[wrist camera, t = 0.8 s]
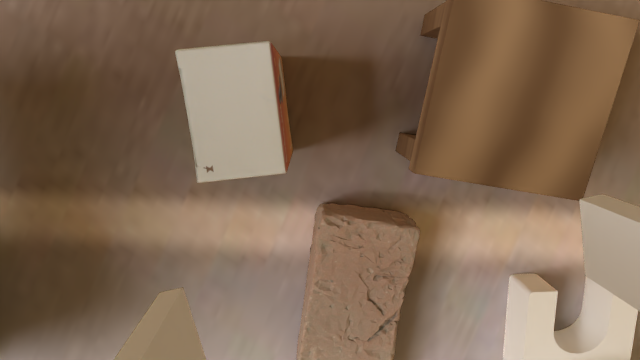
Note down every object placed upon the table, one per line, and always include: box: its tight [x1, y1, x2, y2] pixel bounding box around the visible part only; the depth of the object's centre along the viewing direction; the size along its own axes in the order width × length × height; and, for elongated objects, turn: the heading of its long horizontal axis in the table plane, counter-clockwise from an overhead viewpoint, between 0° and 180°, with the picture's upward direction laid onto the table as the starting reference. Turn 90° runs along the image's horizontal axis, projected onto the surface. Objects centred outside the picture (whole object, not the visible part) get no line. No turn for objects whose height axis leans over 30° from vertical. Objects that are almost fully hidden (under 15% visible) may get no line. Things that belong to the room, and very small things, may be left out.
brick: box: [296, 203, 420, 360], centre depth 36 cm, size 17×8×5 cm, turn 172°
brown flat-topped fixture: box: [396, 0, 640, 201], centre depth 31 cm, size 12×12×8 cm
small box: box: [175, 41, 293, 183], centre depth 29 cm, size 8×6×10 cm
